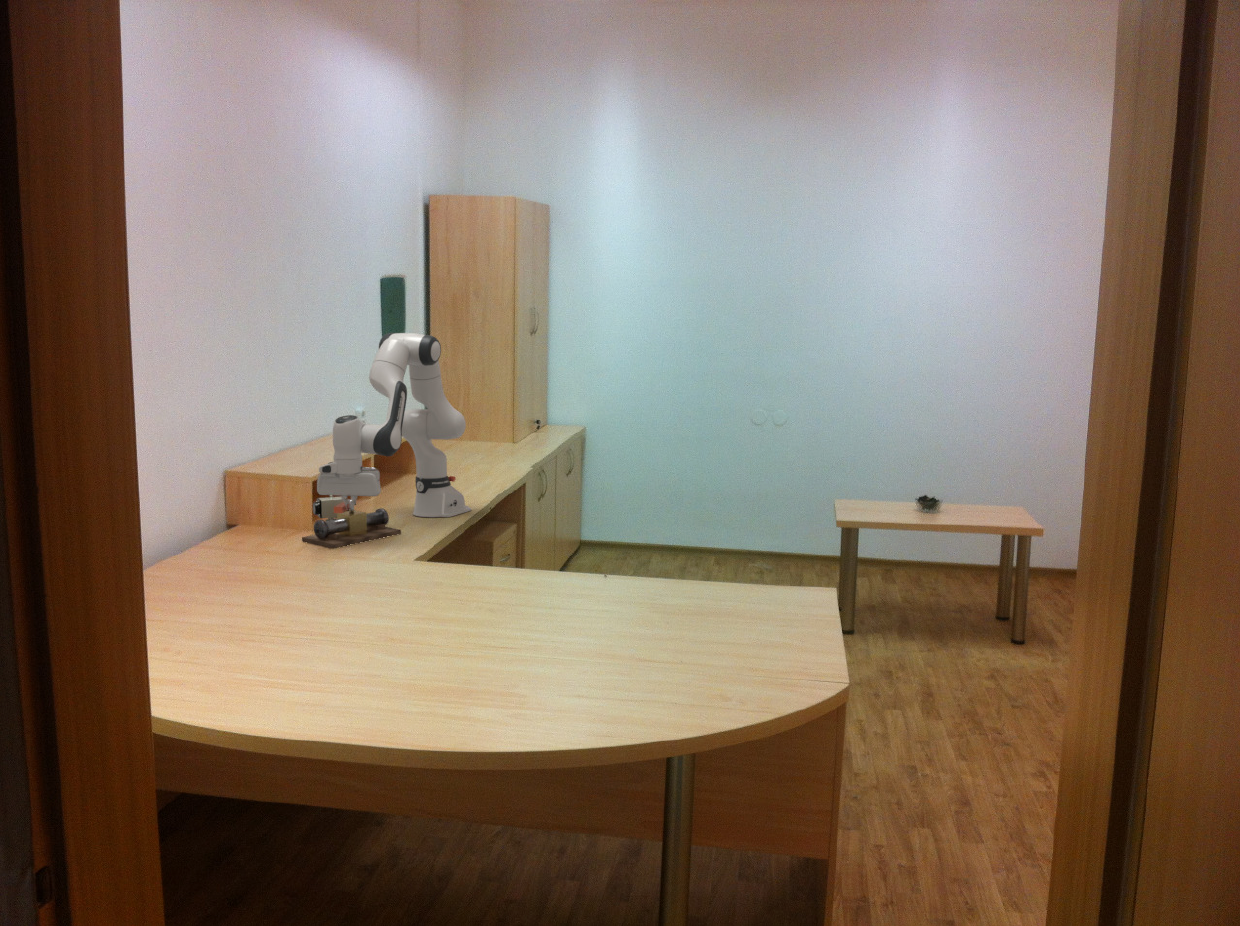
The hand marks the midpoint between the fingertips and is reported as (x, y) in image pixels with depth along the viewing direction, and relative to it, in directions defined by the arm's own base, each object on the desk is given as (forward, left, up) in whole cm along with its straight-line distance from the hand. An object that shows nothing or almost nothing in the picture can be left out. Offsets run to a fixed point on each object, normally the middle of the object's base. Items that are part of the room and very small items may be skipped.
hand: (349, 509), depth 333 cm
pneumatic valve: (-10, -23, -12) cm, 28 cm away
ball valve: (-6, -7, -10) cm, 14 cm away
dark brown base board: (-6, -7, -12) cm, 15 cm away
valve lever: (-1, -4, -1) cm, 4 cm away
